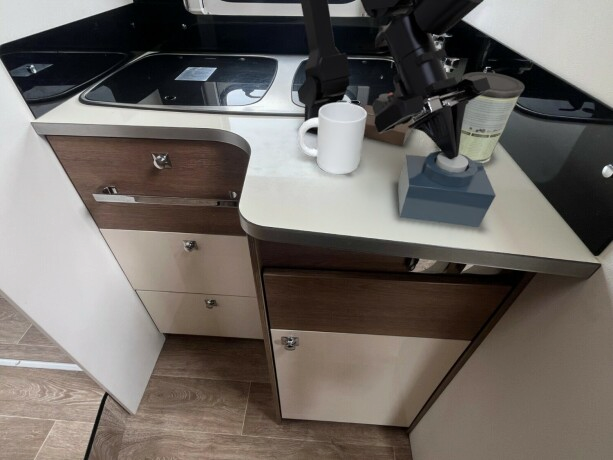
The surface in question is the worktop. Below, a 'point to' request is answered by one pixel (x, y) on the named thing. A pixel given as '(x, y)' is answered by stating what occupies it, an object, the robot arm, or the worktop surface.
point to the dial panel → (391, 136)
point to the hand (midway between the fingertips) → (453, 157)
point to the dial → (385, 95)
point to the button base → (443, 192)
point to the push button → (452, 163)
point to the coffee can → (488, 116)
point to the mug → (336, 137)
